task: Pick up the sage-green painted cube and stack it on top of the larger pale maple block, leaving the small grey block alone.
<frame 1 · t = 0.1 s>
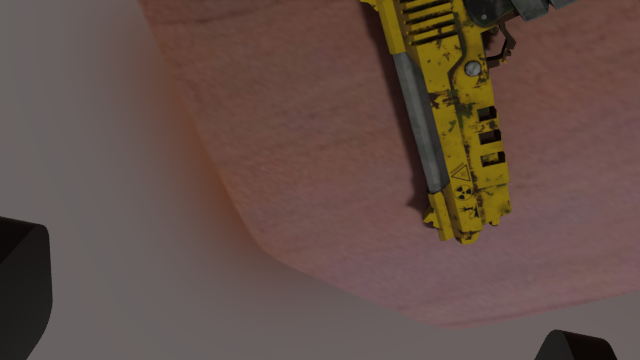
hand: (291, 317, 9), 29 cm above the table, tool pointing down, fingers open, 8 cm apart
toy gun: (508, 77, 38), on the table
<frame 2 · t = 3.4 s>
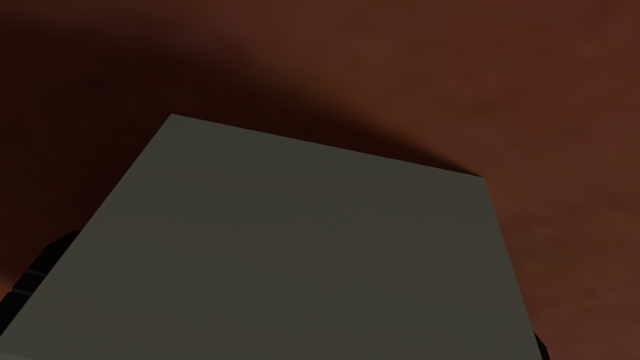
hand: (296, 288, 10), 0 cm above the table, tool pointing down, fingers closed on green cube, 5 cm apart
green cube: (301, 269, 11), on the table, touching gripper
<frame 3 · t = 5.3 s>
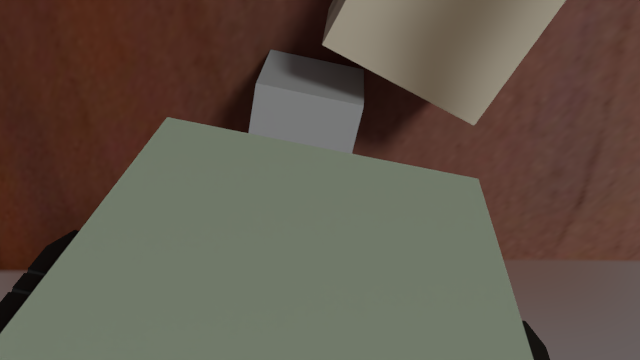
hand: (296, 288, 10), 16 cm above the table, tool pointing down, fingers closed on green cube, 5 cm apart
green cube: (298, 270, 11), point 16 cm above the table, touching gripper
grey block: (308, 102, 26), on the table
when the fingers open (6 cm above the table, at t = 7.1 s): green cube stays where it is, resting on maple block.
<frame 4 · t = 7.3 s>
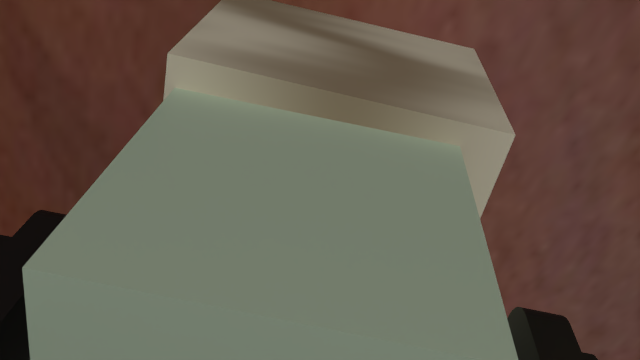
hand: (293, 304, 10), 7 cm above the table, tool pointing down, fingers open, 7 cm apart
maple block: (326, 129, 16), on the table, touching green cube
green cube: (294, 233, 11), point 5 cm above the table, touching maple block
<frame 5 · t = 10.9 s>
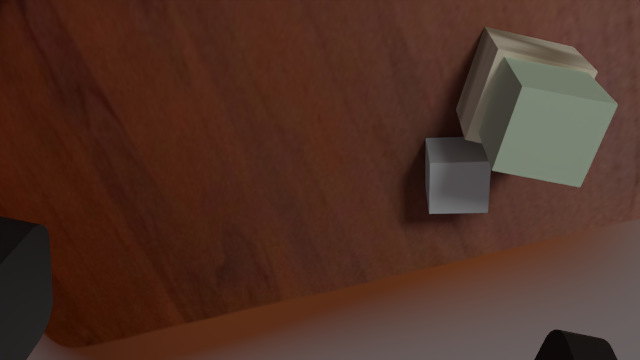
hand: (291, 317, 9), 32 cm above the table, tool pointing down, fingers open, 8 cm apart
maple block: (512, 78, 40), on the table, touching green cube
green cube: (531, 103, 36), point 5 cm above the table, touching maple block
grey block: (452, 161, 44), on the table
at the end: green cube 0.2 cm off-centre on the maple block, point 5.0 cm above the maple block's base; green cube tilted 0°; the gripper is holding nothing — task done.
